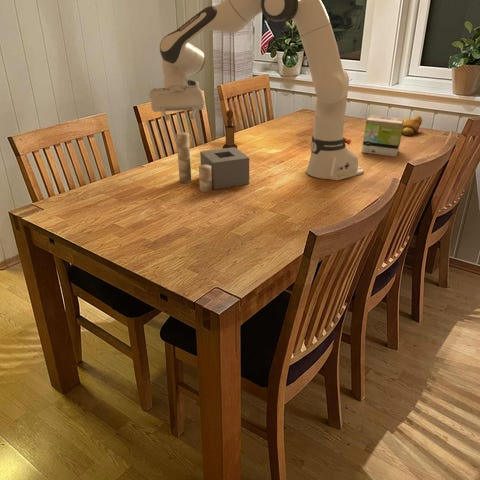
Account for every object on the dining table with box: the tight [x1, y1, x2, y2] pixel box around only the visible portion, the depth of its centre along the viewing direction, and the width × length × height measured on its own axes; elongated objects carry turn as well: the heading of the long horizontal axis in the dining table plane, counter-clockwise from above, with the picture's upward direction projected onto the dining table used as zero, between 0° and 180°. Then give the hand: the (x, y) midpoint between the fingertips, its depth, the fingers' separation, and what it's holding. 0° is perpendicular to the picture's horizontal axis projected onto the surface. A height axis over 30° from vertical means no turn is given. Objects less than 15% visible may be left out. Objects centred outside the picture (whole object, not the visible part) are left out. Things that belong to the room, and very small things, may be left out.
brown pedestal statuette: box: [222, 109, 238, 149], centre depth 204 cm, size 7×6×18 cm
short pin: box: [198, 164, 213, 194], centre depth 166 cm, size 4×4×9 cm
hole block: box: [199, 147, 250, 190], centre depth 175 cm, size 14×14×10 cm
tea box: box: [361, 114, 405, 158], centre depth 204 cm, size 15×10×15 cm
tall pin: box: [176, 131, 192, 184], centre depth 172 cm, size 4×4×18 cm
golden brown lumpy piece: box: [402, 116, 423, 136], centre depth 232 cm, size 13×10×8 cm
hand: (179, 119), depth 177 cm, fingers open, 8 cm apart
